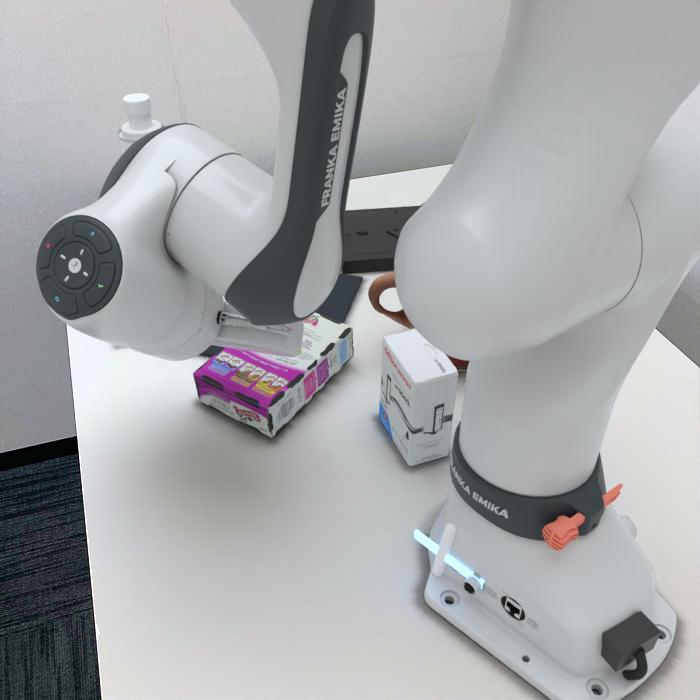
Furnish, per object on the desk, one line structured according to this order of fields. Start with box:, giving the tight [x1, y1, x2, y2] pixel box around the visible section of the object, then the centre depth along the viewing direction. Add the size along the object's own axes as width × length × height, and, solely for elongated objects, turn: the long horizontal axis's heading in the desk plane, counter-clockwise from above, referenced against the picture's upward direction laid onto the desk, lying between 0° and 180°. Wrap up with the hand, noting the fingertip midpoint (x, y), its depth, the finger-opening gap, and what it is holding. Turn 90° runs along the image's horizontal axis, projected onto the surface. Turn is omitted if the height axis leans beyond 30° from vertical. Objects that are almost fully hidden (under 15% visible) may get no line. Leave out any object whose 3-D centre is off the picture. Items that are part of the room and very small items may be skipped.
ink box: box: [378, 328, 459, 467], centre depth 77 cm, size 9×5×12 cm, turn 21°
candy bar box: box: [192, 313, 355, 439], centre depth 87 cm, size 11×5×16 cm
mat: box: [198, 273, 364, 358], centre depth 99 cm, size 22×16×1 cm
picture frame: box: [341, 201, 426, 274], centre depth 114 cm, size 16×3×21 cm
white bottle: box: [117, 92, 166, 156], centre depth 106 cm, size 7×7×25 cm
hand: (224, 334), depth 79 cm, fingers closed
